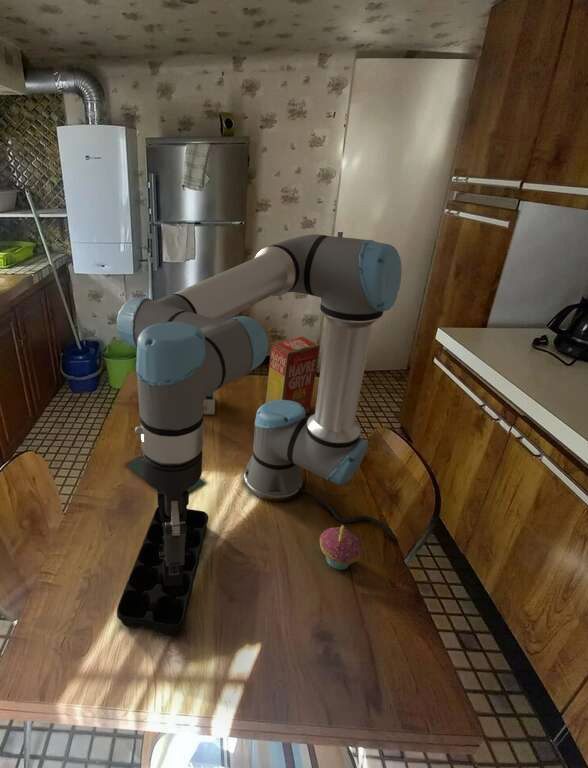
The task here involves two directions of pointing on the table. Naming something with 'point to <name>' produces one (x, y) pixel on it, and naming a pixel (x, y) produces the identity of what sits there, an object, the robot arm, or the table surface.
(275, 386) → the food packaging
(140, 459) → the mat
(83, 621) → the table surface
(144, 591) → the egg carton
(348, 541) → the cupcake
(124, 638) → the table surface
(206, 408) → the light bulb box
